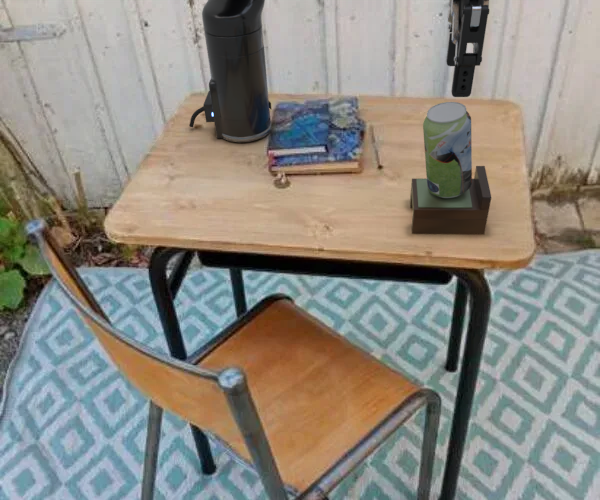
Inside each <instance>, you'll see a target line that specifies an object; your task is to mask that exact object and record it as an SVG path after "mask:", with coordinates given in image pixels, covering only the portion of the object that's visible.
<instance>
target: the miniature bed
mask: <svg viewBox="0 0 600 500" xmlns="http://www.w3.org/2000/svg"><path fill="white" fill-rule="evenodd" d="M488 179H489V178H488V175H487V170H486V166H485V165H476V166H475V171H474V177H473V178H472V184H471V187H470V188H469V189H468V190H467V191H466V192H464V193H462V194H461V195H459V196H457V197H453V198H442V197H438V196H436V195H434V194H432V193H431V192H430V191H429V190H428V188H427V178H411V185H410V194H409V195H410V196H409V208H410V209H412V216H411V234H412V235H485V232H486V227H487V223H488V218H489V211H490V207H491V201H492V193H491V188H490V183H489V180H488Z"/></svg>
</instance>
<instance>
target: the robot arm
mask: <svg viewBox="0 0 600 500" xmlns="http://www.w3.org/2000/svg"><path fill="white" fill-rule="evenodd" d="M448 1H449V2H448V9H447V22H449V23H448V25H447V30H448V33H449V36H448V43H447V53H446V60H445V62H446V65H447V66H448V67H454V68H453V76H452V83H451V90H450V91H451V95H452V97H453V98H468V97H470V96H471V94H472V89H473V83H474V77H475V70H476V66H477V67H478V66H481V63H483V57H482V56H483V49H484V43H485V38H486V37H485V36H486V32H487V31H486V29H487V24H488V17H489V14H490V8H489V7H490V0H448ZM265 2H266V0H207V1H206V3H205V4H204V6H203V7H202V11H201V18H202V27H203V31H204V39H205V45H206V46H205V47H206V51H207V59H208V66H209V73H210V79H209V81H208V89H209V90H208V92H207V95H206V97H205V100H204V101H203V106H202V107H199V108H198V109H196V110H195V111H194V112H193V113H192V115H191V117H190V120H189V124H188V125H189V127H190V128H194V125H195V121H196V118H197V117H198V116H199V115H200V114H201V113H203V112H204V117H205V123H214V129H215V137H216V138H217V139H223V140H225V141H228V142H233V143H250V142H251V143H252V142H255V141H258V140H260V139H263V138H265V137H267V136H268V135H269V134H270V133H271V131H272V127H273V126H272V119H271V110H272V103H271V101H270V99H269V88H268V87H269V86H268V74H267V63H266V62H267V61H266V52H265V41H264V28H263V10H264V7H265ZM468 44H472V46H473V47H472V52H467V49H468Z"/></svg>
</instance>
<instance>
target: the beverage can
mask: <svg viewBox="0 0 600 500" xmlns="http://www.w3.org/2000/svg"><path fill="white" fill-rule="evenodd" d="M422 129H423V146H424V158H425V175H426V179H427V188H428V190H429V191H430V192H431V193H432V194H434V195H436V196H438V197H442V198H453V197H457V196H459V195H461V194H462V193H464V192H466V191H467V190H468V189H469V188H470V187H471V184H472V179H473V159H472V158H473V157H472V156H473V154H472V151H473V149H472V148H473V147H472V117H471V114H470V113H469V112H468V110H467V106H466V105H464V104H463V103H461V102H457V101H445V102H441V103H440V102H439V103H437V104H434V105H433V106H431V107H430V108H428V110H427V112H426V116H425V118H424V120H423V123H422Z"/></svg>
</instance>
